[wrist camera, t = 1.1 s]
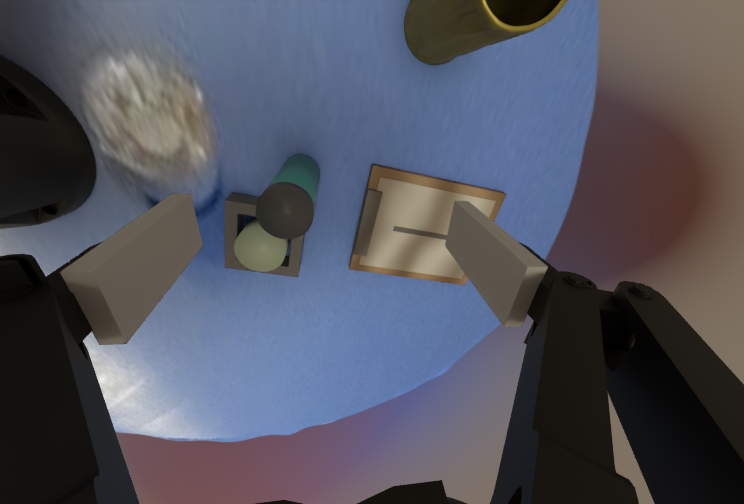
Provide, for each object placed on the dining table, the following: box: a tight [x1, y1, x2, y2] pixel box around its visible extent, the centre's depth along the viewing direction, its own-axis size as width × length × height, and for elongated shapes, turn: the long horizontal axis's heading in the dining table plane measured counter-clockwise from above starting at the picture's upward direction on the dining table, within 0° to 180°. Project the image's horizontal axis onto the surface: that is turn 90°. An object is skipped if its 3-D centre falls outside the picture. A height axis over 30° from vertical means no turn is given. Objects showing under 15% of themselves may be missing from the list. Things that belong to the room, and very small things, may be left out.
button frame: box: [225, 193, 305, 277], centre depth 33 cm, size 8×8×2 cm
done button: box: [234, 219, 289, 272], centre depth 31 cm, size 5×5×3 cm
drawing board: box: [349, 164, 506, 285], centre depth 35 cm, size 16×13×1 cm
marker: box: [256, 154, 320, 239], centre depth 25 cm, size 4×4×13 cm
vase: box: [405, 0, 567, 65], centre depth 20 cm, size 6×6×14 cm
